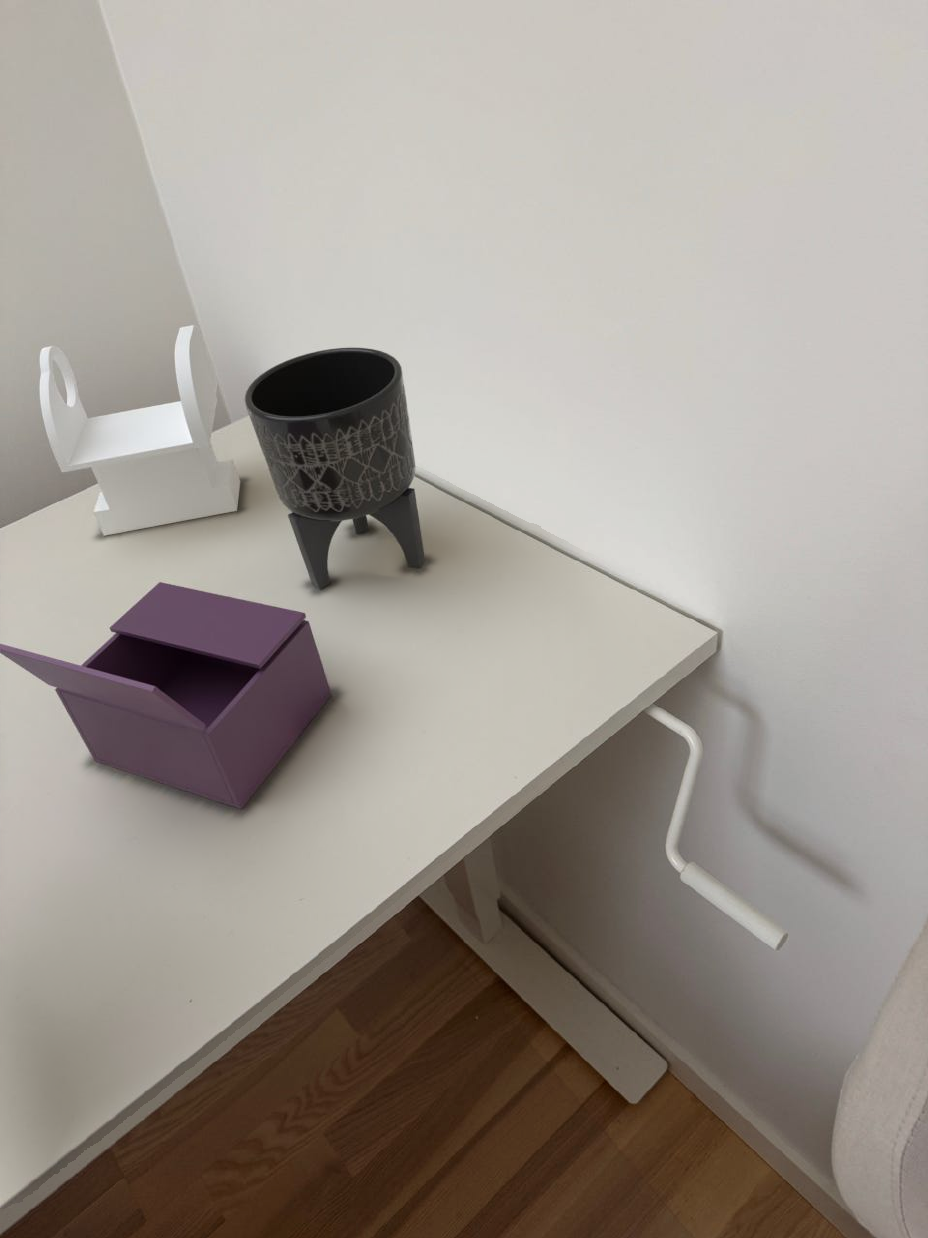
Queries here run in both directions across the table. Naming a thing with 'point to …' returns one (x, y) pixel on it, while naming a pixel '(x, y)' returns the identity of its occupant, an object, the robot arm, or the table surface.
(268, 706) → the box
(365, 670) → the table surface
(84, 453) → the tape dispenser
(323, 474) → the planter
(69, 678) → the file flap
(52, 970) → the table surface
